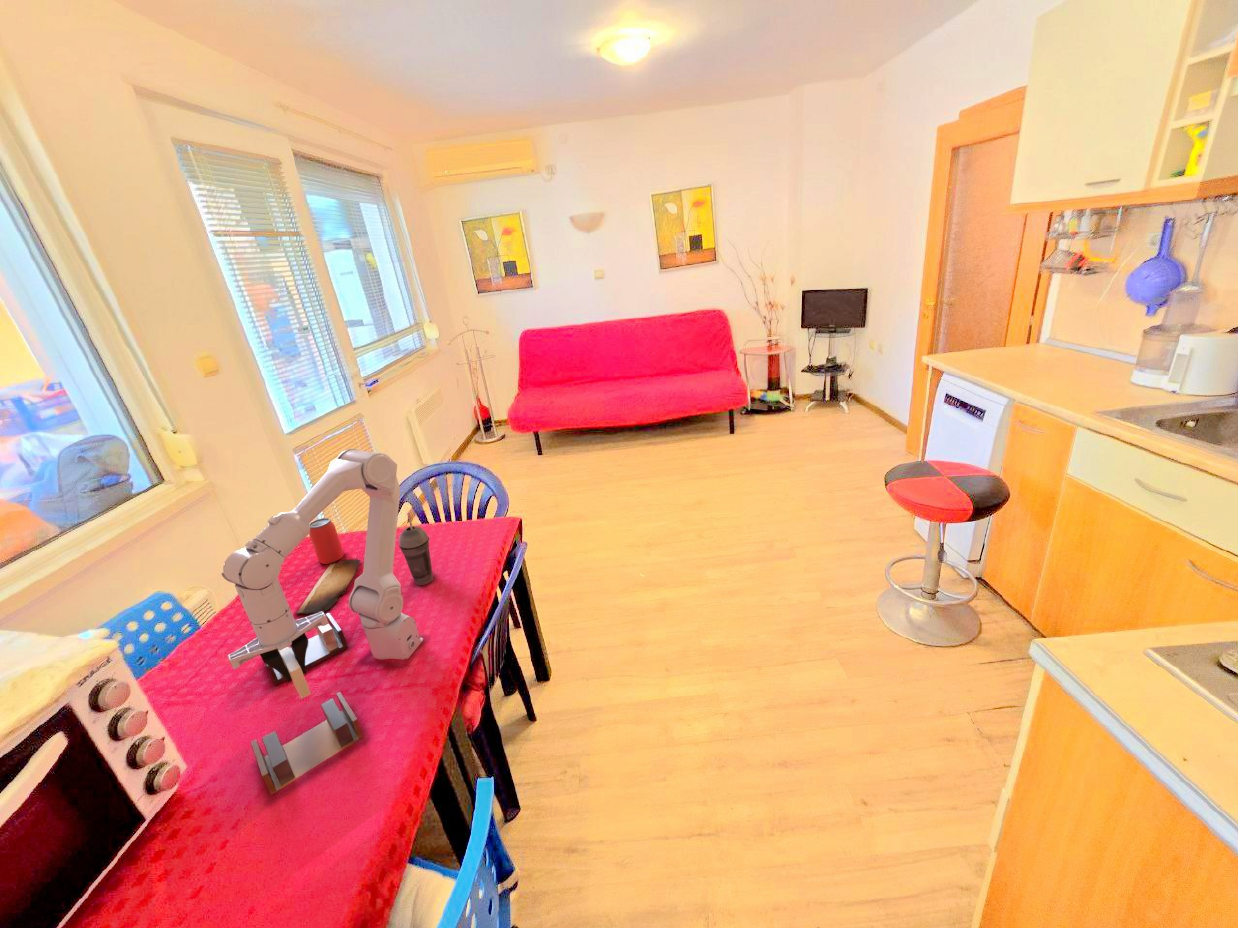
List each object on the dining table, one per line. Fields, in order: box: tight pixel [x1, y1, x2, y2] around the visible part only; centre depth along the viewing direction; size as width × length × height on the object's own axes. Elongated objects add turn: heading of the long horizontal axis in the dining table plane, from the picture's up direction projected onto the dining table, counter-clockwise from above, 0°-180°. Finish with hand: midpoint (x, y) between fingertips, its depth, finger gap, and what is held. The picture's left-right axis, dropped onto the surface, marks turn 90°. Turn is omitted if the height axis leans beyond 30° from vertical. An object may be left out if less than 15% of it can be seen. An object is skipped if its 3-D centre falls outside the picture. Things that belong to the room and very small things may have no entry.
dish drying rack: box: [265, 612, 349, 686], centre depth 107 cm, size 14×9×6 cm, turn 134°
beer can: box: [308, 517, 344, 565], centre depth 145 cm, size 7×7×12 cm
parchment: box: [295, 558, 361, 615], centre depth 133 cm, size 25×10×1 cm, turn 8°
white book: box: [278, 646, 312, 700], centre depth 90 cm, size 2×9×6 cm, turn 45°
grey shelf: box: [250, 691, 364, 796], centre depth 85 cm, size 14×9×5 cm, turn 135°
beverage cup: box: [398, 512, 434, 586], centre depth 129 cm, size 7×7×20 cm
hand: (295, 675), depth 90 cm, fingers closed on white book, 2 cm apart
